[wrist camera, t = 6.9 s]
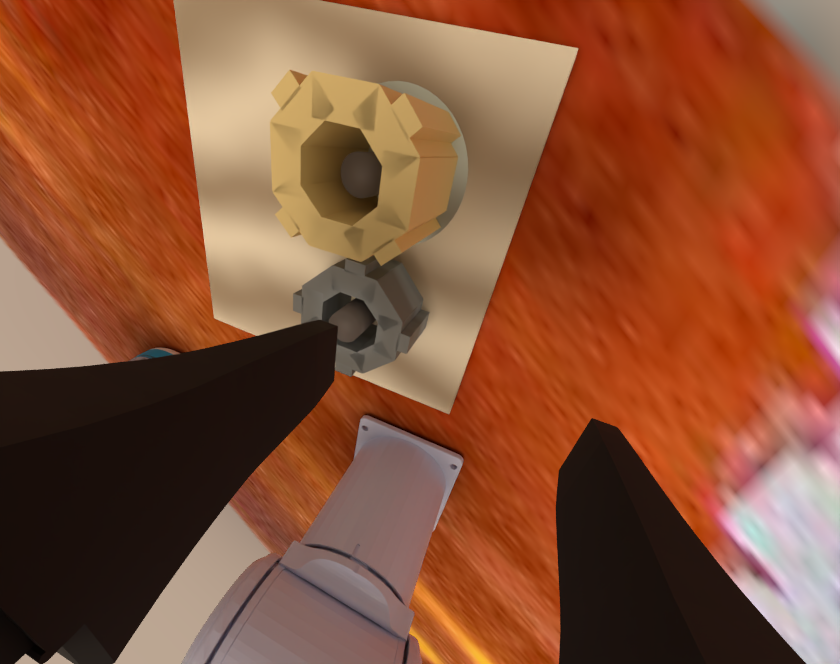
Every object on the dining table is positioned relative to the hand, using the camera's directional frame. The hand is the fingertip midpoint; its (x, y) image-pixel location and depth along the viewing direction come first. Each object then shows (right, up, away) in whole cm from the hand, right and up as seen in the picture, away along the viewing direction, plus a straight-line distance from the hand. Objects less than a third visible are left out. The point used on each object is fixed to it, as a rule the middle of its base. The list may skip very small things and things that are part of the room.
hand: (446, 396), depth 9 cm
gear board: (-5, +8, +10) cm, 13 cm away
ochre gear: (-2, +9, +6) cm, 11 cm away
